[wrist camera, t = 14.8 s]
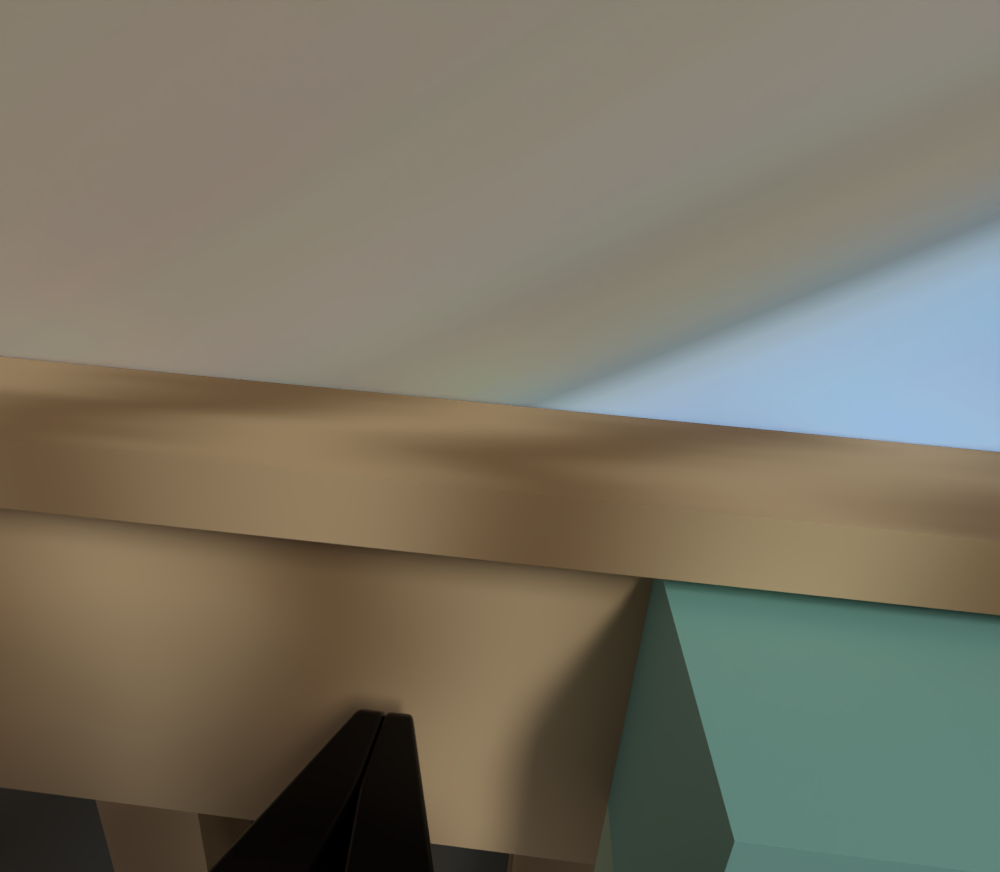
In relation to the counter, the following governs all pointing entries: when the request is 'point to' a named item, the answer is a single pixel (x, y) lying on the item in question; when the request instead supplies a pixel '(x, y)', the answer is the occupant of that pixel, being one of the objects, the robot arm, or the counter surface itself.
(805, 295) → the counter surface
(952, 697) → the block
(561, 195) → the counter surface
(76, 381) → the tray
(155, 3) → the counter surface
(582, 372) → the counter surface
